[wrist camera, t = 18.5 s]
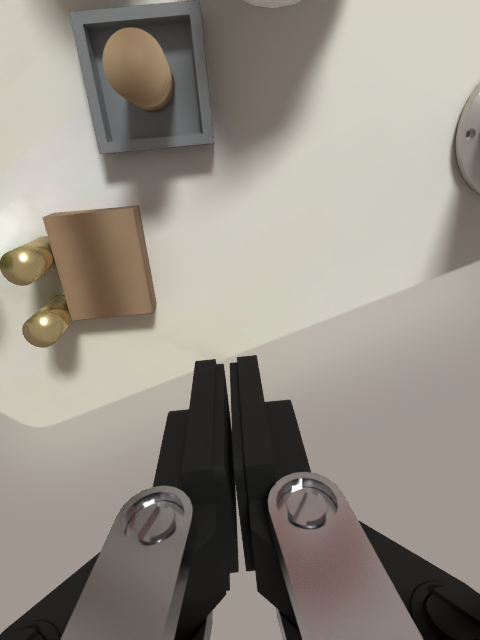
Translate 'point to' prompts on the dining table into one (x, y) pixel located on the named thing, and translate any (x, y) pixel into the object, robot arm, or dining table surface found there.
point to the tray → (183, 59)
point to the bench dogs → (26, 269)
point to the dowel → (138, 69)
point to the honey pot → (272, 3)
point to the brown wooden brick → (102, 262)
